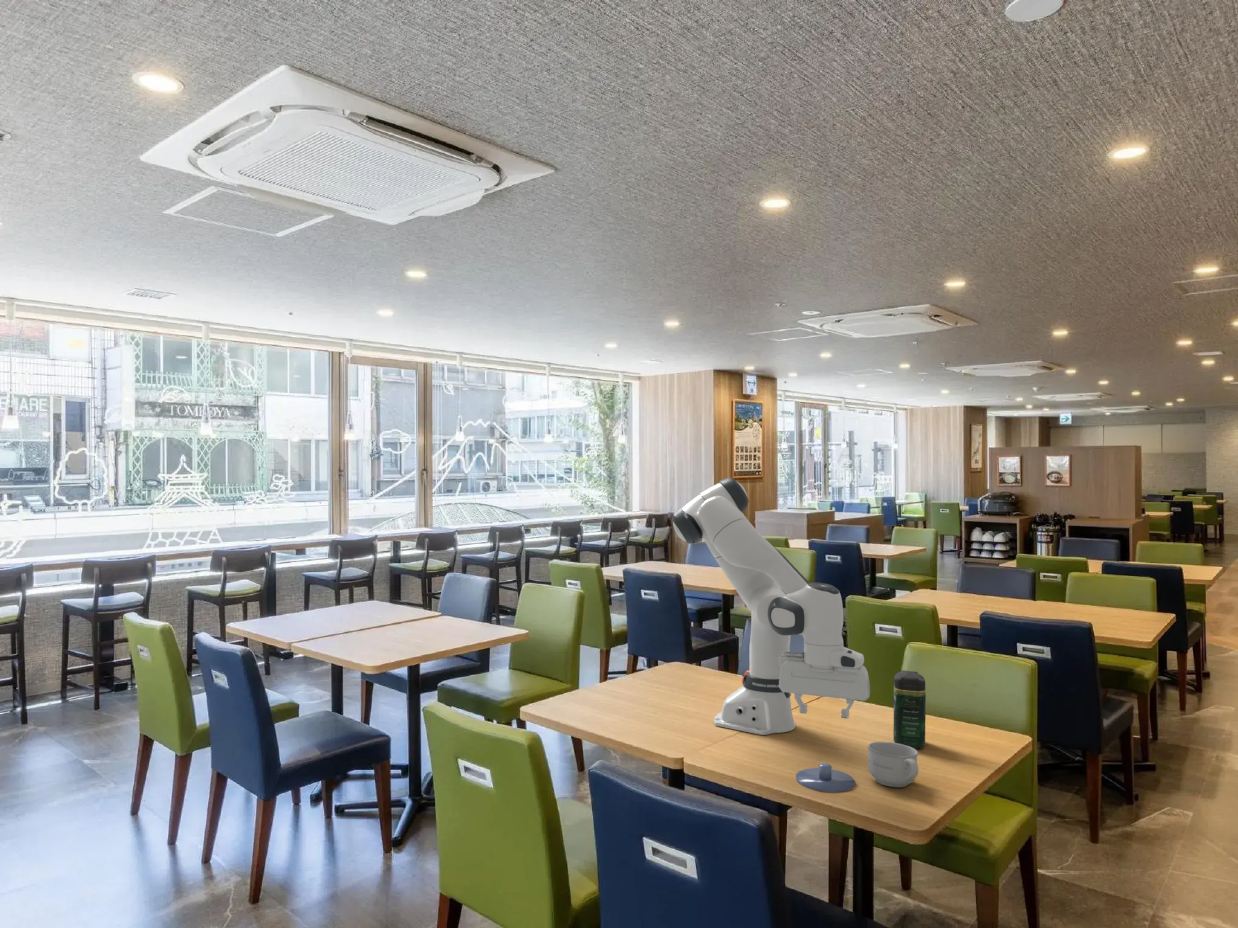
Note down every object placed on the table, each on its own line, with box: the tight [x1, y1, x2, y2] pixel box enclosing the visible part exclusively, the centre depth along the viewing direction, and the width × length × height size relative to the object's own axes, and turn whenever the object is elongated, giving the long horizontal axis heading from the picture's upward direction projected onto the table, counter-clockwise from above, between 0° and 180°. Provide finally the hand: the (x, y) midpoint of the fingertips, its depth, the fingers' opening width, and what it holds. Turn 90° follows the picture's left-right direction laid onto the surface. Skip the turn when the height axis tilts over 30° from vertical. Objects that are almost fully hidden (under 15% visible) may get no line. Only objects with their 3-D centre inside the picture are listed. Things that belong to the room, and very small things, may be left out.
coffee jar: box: [892, 669, 927, 750], centre depth 208 cm, size 10×8×19 cm
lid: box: [795, 762, 856, 793], centre depth 182 cm, size 13×13×4 cm
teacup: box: [867, 741, 919, 788], centre depth 180 cm, size 14×11×8 cm
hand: (824, 715), depth 182 cm, fingers open, 8 cm apart
